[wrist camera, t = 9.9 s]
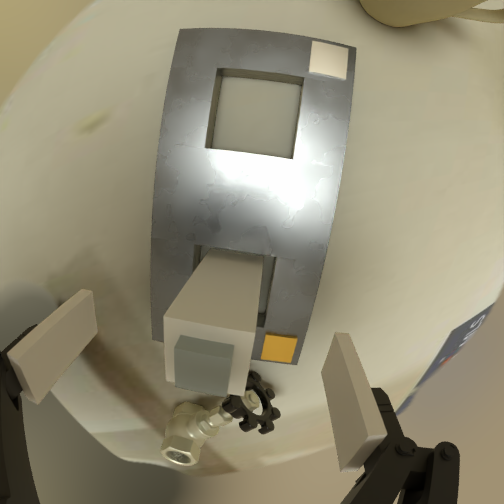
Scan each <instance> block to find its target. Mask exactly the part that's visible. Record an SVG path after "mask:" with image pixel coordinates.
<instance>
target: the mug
mask: <svg viewBox="0 0 504 504" xmlns="http://www.w3.org/2000/svg"><path fill="white" fill-rule="evenodd" d="M485 1H487V0H360V3H361V5H362V7H363V8H364V9H365V11H366V12H367V13H368V14H369V15H370V16H372V17H373V18H374V19H376V20H377V21H379V22H381V23H383V24H385V25H388V26H392V27H405V26H409V25H414V24H419V23H425V22H430V21H436V20H441V19H445V18H448V17H451V16H452V17H458V18H464V19H470V20H476V21H482V22H490V23H504V9H500V10H486V9H478V8H472V7H474V6H476V5H478V4H480V3H482V2H485Z"/></svg>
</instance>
